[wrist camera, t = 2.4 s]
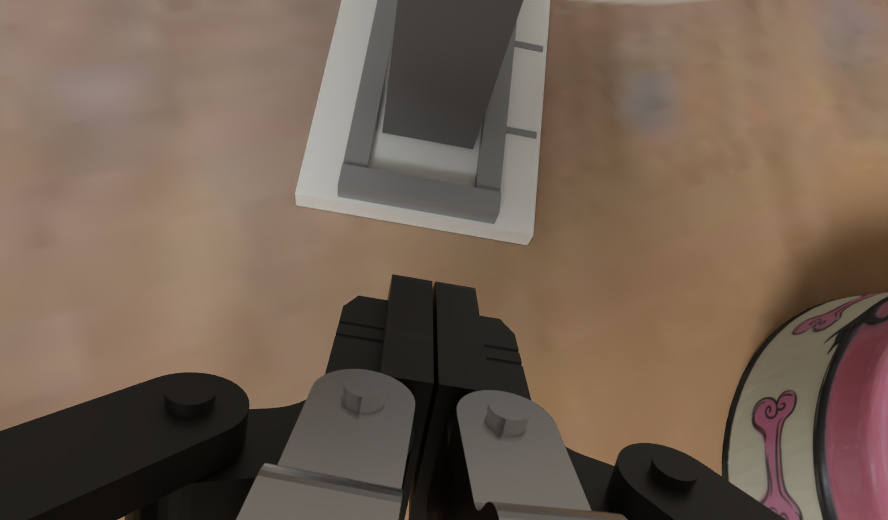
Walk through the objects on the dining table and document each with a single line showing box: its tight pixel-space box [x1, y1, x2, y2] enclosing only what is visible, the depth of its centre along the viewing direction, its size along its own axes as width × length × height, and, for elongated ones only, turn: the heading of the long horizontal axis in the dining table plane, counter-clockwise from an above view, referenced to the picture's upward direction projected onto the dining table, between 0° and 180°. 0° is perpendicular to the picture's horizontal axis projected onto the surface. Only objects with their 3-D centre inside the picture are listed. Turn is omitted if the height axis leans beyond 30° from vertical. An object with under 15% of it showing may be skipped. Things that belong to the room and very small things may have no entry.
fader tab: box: [382, 0, 523, 149], centre depth 26 cm, size 3×4×11 cm
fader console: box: [295, 0, 550, 245], centre depth 34 cm, size 22×10×2 cm, turn 173°
